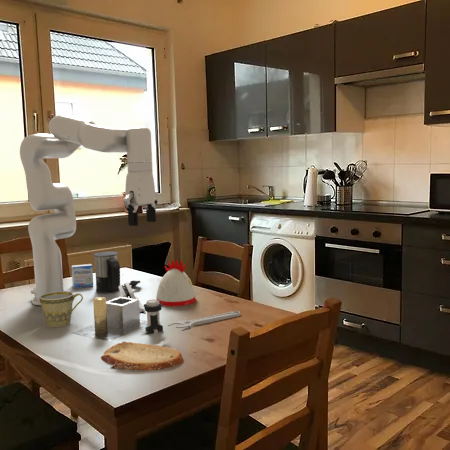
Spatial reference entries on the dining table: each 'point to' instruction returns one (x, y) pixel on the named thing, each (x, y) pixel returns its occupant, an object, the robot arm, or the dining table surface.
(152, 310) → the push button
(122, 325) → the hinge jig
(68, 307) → the ceramic cup
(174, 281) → the kitchen timer
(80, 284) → the medicine box
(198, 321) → the adjustable wrench
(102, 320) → the brass pin
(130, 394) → the dining table surface
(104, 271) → the milk frother
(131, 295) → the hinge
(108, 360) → the bread slice
